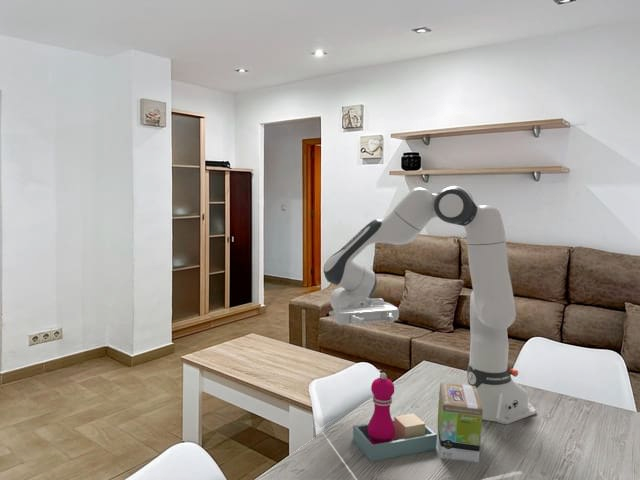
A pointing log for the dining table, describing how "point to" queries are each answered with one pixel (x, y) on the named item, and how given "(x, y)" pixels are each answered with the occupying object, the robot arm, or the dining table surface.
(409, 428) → the tan wooden cube
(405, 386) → the dining table surface
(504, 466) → the dining table surface
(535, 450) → the dining table surface
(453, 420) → the tea box
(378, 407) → the pepper mill
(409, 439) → the box
